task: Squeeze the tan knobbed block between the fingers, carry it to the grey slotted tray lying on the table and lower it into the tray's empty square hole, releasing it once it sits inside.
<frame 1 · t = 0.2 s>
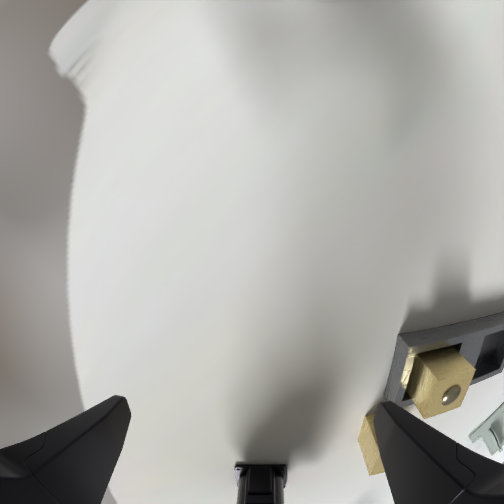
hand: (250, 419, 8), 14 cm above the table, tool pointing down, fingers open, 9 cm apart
metal bracket: (501, 415, 27), on the table
tan knobbed block: (378, 424, 26), on the table
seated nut: (423, 361, 23), resting on grey slotted tray
grey slotted tray: (455, 352, 23), on the table
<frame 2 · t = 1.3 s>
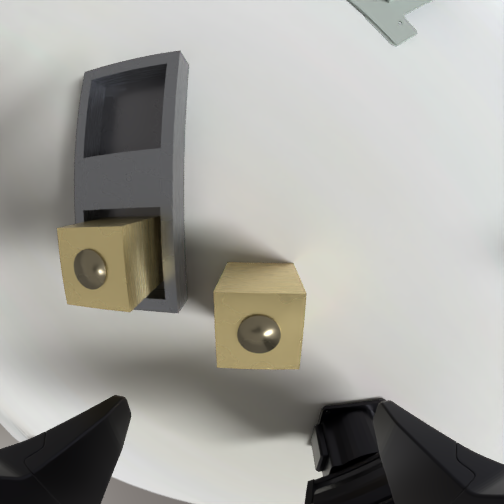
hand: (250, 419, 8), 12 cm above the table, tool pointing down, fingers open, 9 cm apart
tan knobbed block: (259, 293, 20), on the table
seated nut: (134, 247, 19), resting on grey slotted tray
grey slotted tray: (134, 181, 18), on the table
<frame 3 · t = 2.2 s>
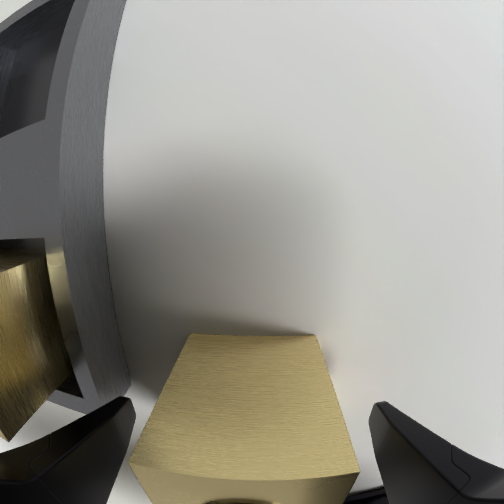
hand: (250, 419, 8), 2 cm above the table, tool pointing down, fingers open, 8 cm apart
tan knobbed block: (252, 384, 10), on the table
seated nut: (43, 298, 9), resting on grey slotted tray, touching gripper
grey slotted tray: (35, 186, 9), on the table
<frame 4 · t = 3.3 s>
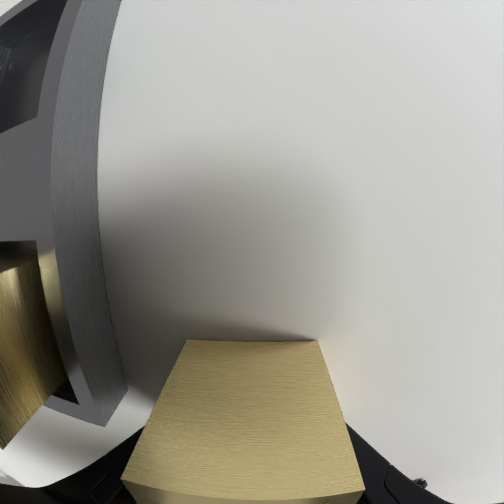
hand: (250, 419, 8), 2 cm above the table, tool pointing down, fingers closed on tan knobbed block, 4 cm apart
tan knobbed block: (252, 391, 10), on the table, touching gripper
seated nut: (37, 301, 9), resting on grey slotted tray
grey slotted tray: (29, 187, 8), on the table
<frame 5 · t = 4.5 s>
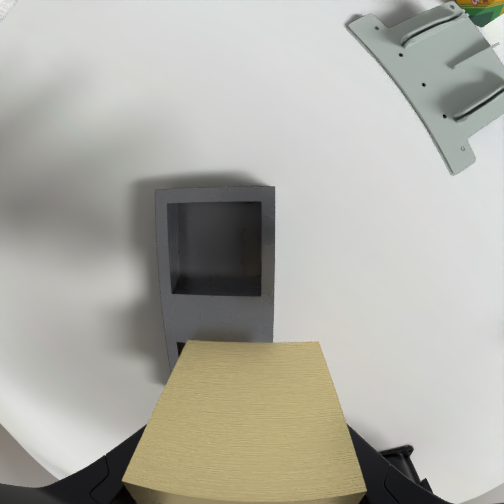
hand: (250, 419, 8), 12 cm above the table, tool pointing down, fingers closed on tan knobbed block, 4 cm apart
crayon box: (460, 2, 14), on the table
metal bracket: (442, 75, 17), on the table
tan knobbed block: (252, 392, 10), point 11 cm above the table, touching gripper
grey slotted tray: (221, 307, 21), on the table
ramekin: (4, 9, 15), on the table
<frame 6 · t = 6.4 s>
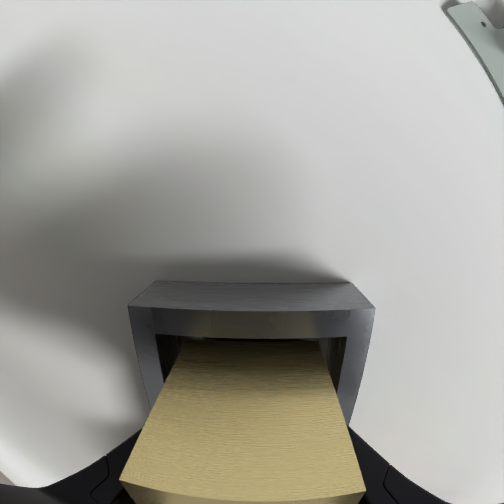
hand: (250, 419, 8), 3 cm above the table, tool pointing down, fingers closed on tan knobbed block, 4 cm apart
tan knobbed block: (251, 391, 10), point 1 cm above the table, touching gripper
grey slotted tray: (252, 438, 12), on the table
when the fingers open (3 cm above the table, at t = 6.4 s): tan knobbed block drops 1 cm, resting on grey slotted tray.
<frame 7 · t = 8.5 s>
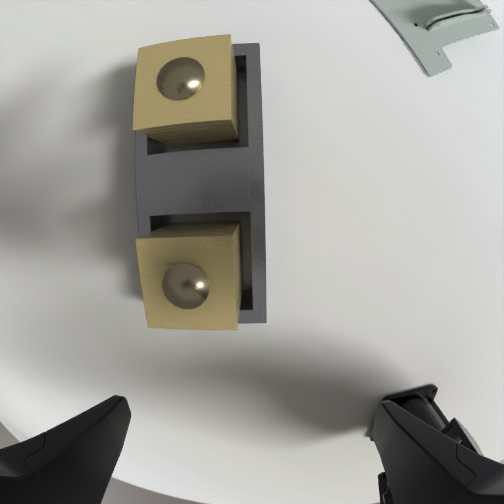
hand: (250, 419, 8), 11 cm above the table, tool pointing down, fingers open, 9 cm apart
metal bracket: (416, 1, 14), on the table
tan knobbed block: (203, 110, 16), resting on grey slotted tray
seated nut: (207, 255, 18), resting on grey slotted tray
grey slotted tray: (204, 182, 18), on the table
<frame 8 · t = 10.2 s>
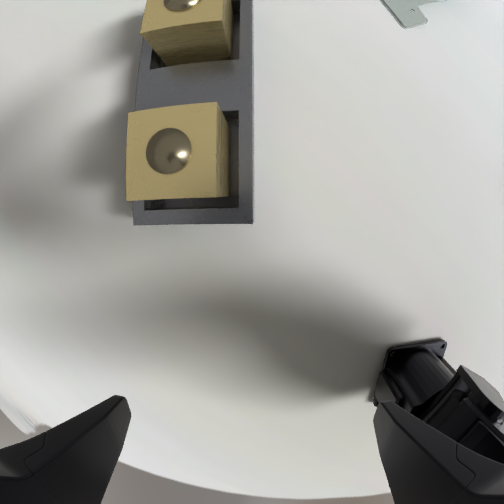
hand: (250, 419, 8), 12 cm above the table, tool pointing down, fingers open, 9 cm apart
tan knobbed block: (202, 43, 16), resting on grey slotted tray
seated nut: (197, 163, 18), resting on grey slotted tray
grey slotted tray: (199, 99, 17), on the table
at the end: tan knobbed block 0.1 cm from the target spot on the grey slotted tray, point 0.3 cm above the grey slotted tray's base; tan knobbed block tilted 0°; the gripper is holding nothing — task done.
